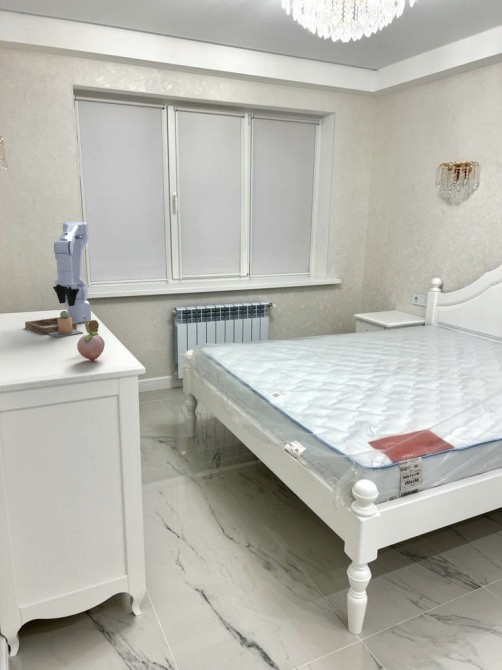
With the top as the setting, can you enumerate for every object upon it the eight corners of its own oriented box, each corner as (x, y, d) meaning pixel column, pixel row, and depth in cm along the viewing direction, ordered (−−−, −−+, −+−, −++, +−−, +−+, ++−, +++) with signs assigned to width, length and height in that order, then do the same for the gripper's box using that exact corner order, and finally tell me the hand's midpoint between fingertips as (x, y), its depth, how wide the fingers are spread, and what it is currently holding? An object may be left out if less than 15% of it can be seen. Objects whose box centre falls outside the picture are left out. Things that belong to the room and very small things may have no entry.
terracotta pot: (68, 330, 201) (67, 309, 199) (74, 332, 197) (73, 311, 195) (56, 332, 197) (54, 310, 195) (62, 334, 194) (61, 312, 192)
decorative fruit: (82, 356, 167) (80, 327, 165) (107, 356, 168) (105, 328, 166) (74, 365, 158) (72, 334, 156) (100, 365, 159) (99, 334, 157)
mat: (74, 330, 204) (74, 329, 204) (83, 333, 199) (83, 332, 199) (48, 334, 196) (48, 333, 196) (56, 337, 191) (56, 336, 191)
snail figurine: (80, 349, 176) (78, 316, 173) (93, 345, 181) (92, 313, 179) (91, 351, 173) (90, 318, 171) (105, 347, 179) (103, 315, 176)
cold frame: (58, 323, 216) (57, 317, 215) (76, 329, 205) (76, 323, 205) (25, 327, 206) (25, 321, 205) (43, 334, 195) (42, 328, 195)
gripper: (46, 269, 201) (49, 303, 204) (64, 273, 192) (66, 308, 195) (63, 268, 206) (65, 301, 209) (81, 272, 197) (83, 306, 200)
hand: (66, 304), depth 202 cm, fingers open, 7 cm apart
